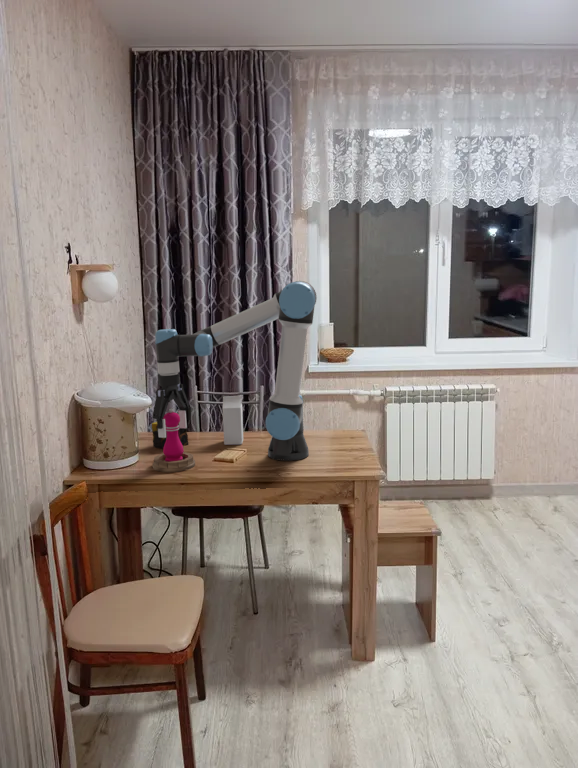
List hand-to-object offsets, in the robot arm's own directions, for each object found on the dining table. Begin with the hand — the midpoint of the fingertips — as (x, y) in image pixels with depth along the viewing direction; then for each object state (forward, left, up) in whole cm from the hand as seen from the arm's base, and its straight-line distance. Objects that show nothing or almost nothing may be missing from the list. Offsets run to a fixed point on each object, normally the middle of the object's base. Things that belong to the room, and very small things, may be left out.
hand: (173, 432), depth 242 cm
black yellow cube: (+16, -23, -13) cm, 31 cm away
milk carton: (-6, -35, -12) cm, 37 cm away
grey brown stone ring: (0, 0, -12) cm, 12 cm away
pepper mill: (0, 0, -11) cm, 11 cm away
